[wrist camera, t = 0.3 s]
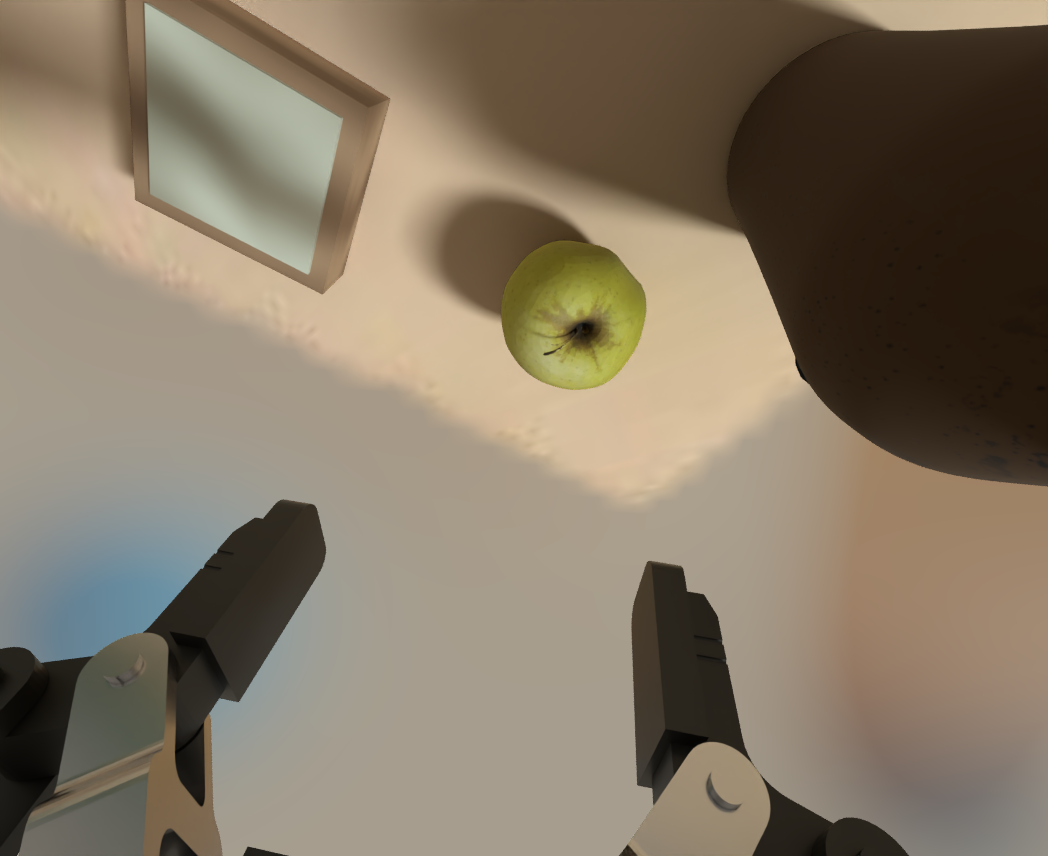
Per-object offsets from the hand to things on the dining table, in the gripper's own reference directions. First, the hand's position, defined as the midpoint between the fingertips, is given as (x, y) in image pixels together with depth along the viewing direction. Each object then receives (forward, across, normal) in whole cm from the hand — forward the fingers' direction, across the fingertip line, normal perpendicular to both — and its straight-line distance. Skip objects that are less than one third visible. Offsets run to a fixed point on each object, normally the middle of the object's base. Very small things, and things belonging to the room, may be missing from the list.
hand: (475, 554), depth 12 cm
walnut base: (+22, +17, -6) cm, 28 cm away
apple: (+23, -1, 0) cm, 23 cm away
